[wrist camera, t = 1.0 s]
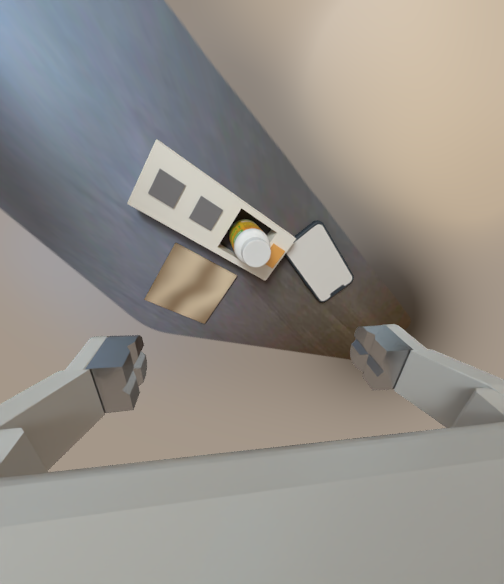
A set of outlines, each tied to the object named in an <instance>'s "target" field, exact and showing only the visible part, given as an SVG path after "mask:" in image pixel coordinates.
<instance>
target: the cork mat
mask: <svg viewBox="0 0 504 584" xmlns="http://www.w3.org/2000/svg"><path fill="white" fill-rule="evenodd" d="M236 277H237V275H236V274H234V273H232V272H230V271H228V270H226V269H224V268H222V267H221V266H219V265H217V264H215V263H213V262H211V261H209V260H208V259H206V258H204V257H202V256H200V255H198V254H196V253H195V252H193V251H191V250H189V249H187V248H185V247H183V246H182V245H180V244H178V243H175V245H174V247H173V248H172V250H171V252H170V254H169V256H168V257H167V259H166V261H165V263H164V265H163V266H162V268H161V270H160V272H159V274H158V275H157V277H156V279H155V281H154V283H153V284H152V286H151V288H150V290H149V292H148V294H147V295H146V297H145V299H144V300H146V301H149V302H151V303H154V304H156V305H159V306H161V307H164V308H166V309H169V310H171V311H174V312H176V313H179V314H181V315H184V316H186V317H189V318H191V319H194V320H196V321H199V322H201V323H204V324H205V322H206V321H207V319H208V318H209V316H210V315H211V314H212V312H213V311H214V309H215V308H216V306H217V305H218V303H219V302H220V300H221V299H222V297H223V296H224V294H225V293H226V291H227V290H228V289H229V287H230V286H231V284H232V283H233V281H234V280H235V278H236Z"/></svg>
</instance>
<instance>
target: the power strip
mask: <svg viewBox="0 0 504 584" xmlns="http://www.w3.org/2000/svg"><path fill="white" fill-rule="evenodd" d="M127 204H129V205H130V206H132V207H134V208H136V209H138V210H139V211H141V212H143V213H145V214H147V215H148V216H150V217H152V218H154V219H155V220H157V221H159V222H161V223H163V224H164V225H166V226H168V227H170V228H172V229H173V230H175V231H177V232H179V233H181V234H182V235H184V236H186V237H188V238H189V239H191V240H193V241H195V242H197V243H198V244H200V245H202V246H204V247H206V248H207V249H209V250H211V251H213V252H214V253H216V254H218V255H220V256H222V257H223V258H225V259H227V260H229V261H231V262H232V263H234V264H236V265H238V266H239V267H241V268H243V269H245V270H247V271H248V272H250V273H252V274H254V275H256V276H257V277H259V278H261V279H263V280H264V281H266V279H267V278H268V277H269V275H270V274H271V273H272V271H273V270H274V269H275V267H276V266H277V264H278V263H279V262H280V260H281V259H282V258H283V256H284V255H285V254H286V252H287V251H288V249H289V248H290V247H291V245H292V244H293V243H294V241H295V240H296V238H295V237H294V236H292V235H291V234H290V233H288V232H287V231H285V230H284V229H283V228H281V227H280V226H278V225H277V224H276V223H274V222H273V221H271V220H270V219H269V218H267V217H266V216H264V215H263V214H262V213H260V212H259V211H257V210H256V209H255V208H253V207H252V206H250V205H249V204H247V203H246V202H245V201H243V200H242V199H240V198H239V197H238V196H236V195H235V194H233V193H232V192H231V191H229V190H228V189H226V188H225V187H224V186H222V185H221V184H219V183H218V182H217V181H215V180H214V179H212V178H211V177H210V176H208V175H207V174H205V173H204V172H202V171H201V170H200V169H198V168H197V167H195V166H194V165H193V164H191V163H190V162H188V161H187V160H186V159H184V158H183V157H181V156H180V155H179V154H177V153H176V152H174V151H173V150H172V149H170V148H169V147H167V146H166V145H164V144H163V143H162V142H160V141H159V140H157V139H156V141H155V143H154V145H153V148H152V150H151V152H150V154H149V157H148V159H147V161H146V163H145V165H144V168H143V170H142V172H141V174H140V176H139V179H138V181H137V183H136V185H135V187H134V190H133V192H132V194H131V196H130V198H129V201H128V203H127ZM241 208H242V209H243V210H245V211H246V212H248V213H249V214H251V215H252V216H253V217H255V218H256V219H258V220H259V221H261V222H262V223H264V224H265V225H266V226H268V227H269V228H271V230H270V232H269V233H268V235H267V237H268V239H269V241H270V250H271V255H270V258H269V260H268V261H267V263H266V264H264V265H263V266H260V267H251V266H249V265H247V264H245V263H243V262H241V261H240V260H239V259H238V258H237V256H236V254H235V252H233V251H231V250H230V249H228V248H226V247H224V246H223V245H221V244H220V242H221V241H222V239H223V237H224V236H225V234H226V232H227V231H228V229H229V228H230V226H231V224H232V223H233V221H234V220H235V218H236V216H237V215H238V213H239V212H240V210H241Z"/></svg>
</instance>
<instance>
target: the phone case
mask: <svg viewBox="0 0 504 584" xmlns="http://www.w3.org/2000/svg"><path fill="white" fill-rule="evenodd" d="M295 238H296V240H295V241H294V243H293V244H292V245H291V247H290V248H289V249H288V251H287V252H286V254H285V256H286V258H287V259H288V260H289V262H290V263H291V265H292V266H293V267H294V269H295V270H296V271H297V273H298V274H299V275H300V277H301V278H302V280H303V282H304V283H305V284H306V286H307V287H308V288H309V289H310V290H311V292H312V293H313V294H314V296H315V297H316V299H317V300H318V301H319V302H325V301H327V300H328V299H330V298H331V297H332V296H334V295H335V294H337V293H338V292H339V291H341V290H342V289H343V288H345V287H346V286H347V285H349V284H350V283H351V282H352V281H353V279H354V276H353V274H352V273H351V271H350V269H349V267H348V265H347V263H346V262H345V260H344V258H343V256H342V255H341V253H340V252H339V250H338V248H337V246H336V245H335V243H334V241H333V239H332V238H331V236H330V234H329V232H328V231H327V229H326V227H325V226H324V224H323V223H322V222H321V221H314V222H312V223H311V224H310V225H308V226H307V227H306V228H305V229H303V230H302V231H301V232H300V233H298V234H297V235H296V236H295Z"/></svg>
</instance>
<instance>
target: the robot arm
mask: <svg viewBox="0 0 504 584" xmlns="http://www.w3.org/2000/svg"><path fill="white" fill-rule="evenodd" d="M354 336H355V338H356V340H355V341H354V342H353V343H352V345H351V349H350V356H351V360H352V362H353V364H354V365H355V367H356V368H357V369H359V370H361V371H362V372H363V378H364V379H365V381H366V382H367V383H368V385H369V386H370V388H371V389H372V390H389V389H394V391H395V392H397V393H398V394H400V395H401V396H403V397H404V398H405V399H407V400H408V401H410V402H411V403H413V404H414V405H415V406H417V407H418V408H419V409H421V410H422V411H424V412H425V413H427V414H428V415H429V416H431V417H432V418H434V419H435V420H436V421H438V422H439V423H441V424H442V425H444V426H445V427H446V428H444V429H435V430H426V431H417V432H408V433H399V434H390V435H381V436H372V437H363V438H354V439H346V440H336V441H327V442H319V443H309V444H300V445H292V446H282V447H273V448H264V449H255V450H246V451H237V452H228V453H219V454H209V455H201V456H192V457H183V458H173V459H164V460H156V461H147V462H137V463H128V464H120V465H112V466H111V465H110V466H102V467H92V468H83V469H75V470H66V471H56V472H48V470H49V469H50V468H51V467H52V466H53V465H54V464H55V463H56V462H57V461H58V460H59V459H60V458H61V457H62V456H63V455H64V454H65V453H66V452H67V451H68V450H69V449H70V448H71V447H72V446H73V445H74V444H75V443H76V442H77V441H78V440H79V439H80V438H82V437H83V436H84V435H85V434H86V432H88V431H89V430H90V429H91V428H92V427H93V426H94V425H95V424H96V423H97V422H98V421H99V420H100V419H101V418H102V417H103V416H104V415H105V413H111V412H119V411H128V410H134V407H135V404H136V402H137V399H138V396H139V393H140V392H139V387H138V386H139V385H141V384H142V383H143V382H144V379H145V376H146V370H147V360H146V355H145V354H144V353H142V352H141V350H142V348H143V346H144V345H143V340H142V337H141V336H139V335H135V336H100V337H99V336H98V337H92V338H90V339H89V340H88V342H87V343H86V344H85V345H84V347H83V348H82V349H81V350H80V352H79V353H78V354H77V356H76V357H75V358H74V359H73V361H72V362H71V363H70V364H69V366H68V367H67V368H66V369H65V371H58V372H57V373H55V374H53V375H51V376H49V377H48V378H46V379H44V380H42V381H41V382H39V383H37V384H35V385H33V386H32V387H30V388H28V389H26V390H24V391H23V392H21V393H19V394H17V395H16V396H14V397H12V398H10V399H9V400H7V401H5V402H3V403H1V404H0V584H504V379H502V378H499V377H497V376H495V375H492V374H490V373H487V372H485V371H482V370H480V369H478V368H475V367H473V366H470V365H468V364H466V363H463V362H461V361H458V360H456V359H454V358H451V357H448V356H446V355H444V354H441V353H439V352H437V351H434V350H431V349H426V348H425V347H424V346H423V345H422V344H420V343H419V342H418V341H417V340H415V339H414V338H413V337H412V336H411V335H409V334H408V333H407V332H406V331H404V330H403V329H402V328H401V327H400V326H398V325H395V324H389V325H379V326H360V327H358V328H357V329H356V331H355V334H354Z"/></svg>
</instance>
